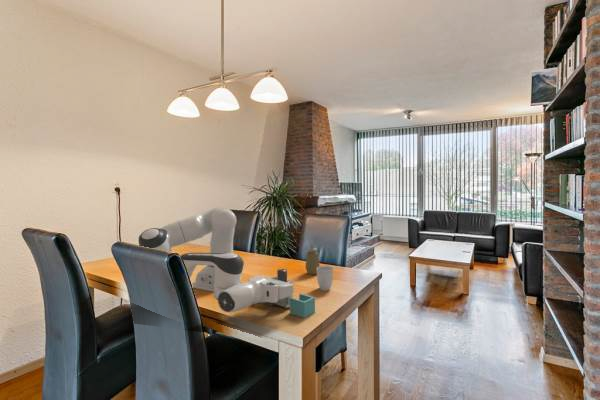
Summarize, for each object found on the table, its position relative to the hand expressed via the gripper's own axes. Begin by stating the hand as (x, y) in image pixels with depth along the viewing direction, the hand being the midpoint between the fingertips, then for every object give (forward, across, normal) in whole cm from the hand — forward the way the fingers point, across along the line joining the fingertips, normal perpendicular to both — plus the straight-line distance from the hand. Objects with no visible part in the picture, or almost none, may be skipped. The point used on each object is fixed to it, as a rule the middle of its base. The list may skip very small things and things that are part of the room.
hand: (283, 280), depth 125 cm
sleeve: (-1, -9, -11) cm, 14 cm away
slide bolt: (-1, -4, -10) cm, 11 cm away
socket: (-1, +11, -11) cm, 15 cm away
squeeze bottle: (+44, -18, -11) cm, 48 cm away
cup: (+28, +2, -11) cm, 30 cm away
